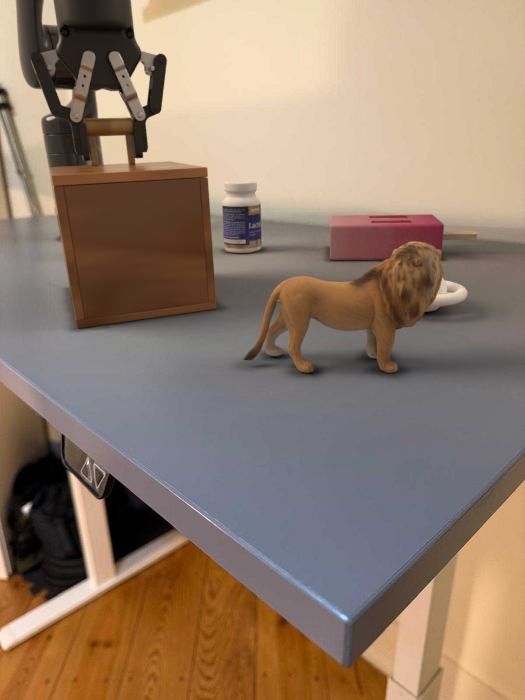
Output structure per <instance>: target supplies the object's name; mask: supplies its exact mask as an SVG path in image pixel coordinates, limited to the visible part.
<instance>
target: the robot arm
mask: <svg viewBox="0 0 525 700" xmlns="http://www.w3.org/2000/svg"><path fill="white" fill-rule="evenodd" d="M44 5H45V0H15V10H16V11H15V12H16V13H15V14H16V31H17V33H16V35H17V46H18V47H17V49H18V56H19V63H20V68H21V69H20V70H21V72H22V76H23V78H24V81H25V82H26V84H27V85H28V87H30V88H32V89H34V90H35V89H36V90H41V91H42V94H43V96H44V99H45V101H46V104H47V107H48V109H49V113H48V114H46V115H44V116H42V117H41V119H40V126H41V131H42V138H43V143H44V148H45V155H46V160H47V166H48V168H49V167H64V166H84V165H92V164H91V157H90V150H89V143H88V137H87V131H86V124H84V119H85V118H99V108H98V100H97V92H98V91H101V90H104V91H109V92H118V93H119V94H118V95H119V96H120V98H121V100H122V102H123V103H124V105H125V107H126V109H127V112H128V114H129V115H130V118H132V121H133V128H134V134H133V135H132V137H133V146H134V155H135V159H144V153H148V150H149V142H148V134H147V133H148V132H147V120H148V119H149V118H151V117H153V116H156V115H158V114H160V113H161V112H162V108H163V99H164V90H165V80H166V72H167V64H168V59H167V56H166V55H165V54H164V53H158V54H153V53H150V52H146V51H143V50H142V49H141V47H140V45H139V44H138V42H137V39H136V35H135V27H134V18H133V9H132V0H53V8H54V13H55V14H54V15H55V21H56V24H46V23H45V24H43V14H44V13H43V12H44ZM139 64H142V66H143V68H144V69H143V71H144V74H145V75H146V76H148V77H149V82H148V91H147V98H146V99H147V101H146V105H142V102H141V101H140V98H139V96H138V92H137V89H136V88H135V85H134V83H133V81H132V79H131V78H132V76H133V74H134V73H135V71H136V69H137V67H138V65H139ZM57 91H71V99H70V101H69V102H68V103H67V104H65V105H62V103H61V100H60V98H59V95H58V92H57ZM95 142H96V149H97V156H98V164H99V165H105V161H104V154H103V148H102V140H101V136H95ZM48 173H49V174H50V172H49V171H48ZM49 179H51V176H50V175H49ZM50 184H51V185H52V183H51V182H50ZM51 189H52V188H51ZM52 191H53V189H52ZM52 195H53V194H52ZM53 197H54V195H53ZM53 201H54V200H53ZM54 203H55V201H54ZM53 210H54V214H56V215H57V213H56V207H55V206H54V207H53ZM56 219H57V221H58V218H57V217H56ZM57 225H58V227H59V224H58V223H57ZM58 235H59V238H60V239H61V236H60V230H59V229H58Z"/></svg>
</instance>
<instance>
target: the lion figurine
mask: <svg viewBox="0 0 525 700" xmlns="http://www.w3.org/2000/svg"><path fill="white" fill-rule="evenodd" d="M442 252H443V251H442ZM442 252H441V250H438V249H436V248H435V247H434V246H432V245H429V244H426V243H423V242H416V241H411V242H408V243H407V244H404V245H402V246H400V247H399V248H398V249H395V250H394V251H393V253H392V255H391V258H389V259H387V260H383V261H382V262H381V263H378V264H375V265H373V266H372V267H370V268H369V270H368V271H366V272H364V273H363V274H362V275H361V276H360V277H357V278H355V279H353V280H351V281H329V280H324V279H320V278H316V277H313V276H308V275H306V276H305V275H299V276H293V277H290V278H287V279H285V280H283V281H282V282H280V283H279V284H278V285H277V286H276V287H275V288H274V289H273V290H272V292H271V294H270V296H269V298H268V300H267V302H266V305H265V310H264V312H263V317H262V323H261V327H260V331H259V336H258V339H257V340H256V341H257V342H256V343H255V345H254V346H253V347H252V348H251V349H250V350H249V351H248V352H247V353H246V355H244V356H243V358H242V360H243V361H252V360H254V359H256V357H258V355H259V354H260V352H261V351H262V349H263V347H264V351H265V354H267V355H268V356H271V357H279V356H282V354H283V348H282V347H280V346H277V345H276V340H277V339H278V338H279V337H280V335H282V334H284V333H285V332H288V337H289V338H288V339H289V340H288V343H287V347H286V349H287V352H288V354H289V356H290V358H291V359H292V361H293V363H294V365H295V367H296V369H297V370H298V371H300V372H301V373H306V374H308V373H312V372H314V370H315V364H314V362H312V361H311V360H307V359H305V358H304V356H303V354H302V344H303V341H304V340H305V337H306V335H307V332H308V329H309V327H310V321H311V319H314V320H316V322H318V323H320V324H322V325H323V326H325V327H327V328H329V329H333V330H335V331H340V332H357V331H364V330H365V331H366V344H365V352H366V355H367V356H368V357H369V358H371V359H374V360H376V361H377V363H378V367H379V369H380V370H381V371H382V372H385V373H388V374H393V373H395V372H397V371H398V368H399V367H398V364H397V363H396V362H394V361H391V354H392V352H393V348H394V344H395V339H396V330H401V329H404V328H411V327H414V326H415V325H416V324H417V323H418V322H420V321H421V320H422V318H423V316H424V314H425V313H426V312H425V310H426V309H428V308H429V306H430V305H431V304H432V303H433V302H434V300H435V299H436V296H437V293H438V291H439V289H440V285H441V281H442V277H443V278H444V269H443V266H442V263H441V261H442V256H443V255H442V254H443V253H442ZM277 304H280V308H279V312H278V314H277V316H276V319H275V320H274V321H273V322H272V323H271V321H272V319H273V315H274V313H275V309H276V306H277Z"/></svg>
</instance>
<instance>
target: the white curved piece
mask: <svg viewBox="0 0 525 700" xmlns="http://www.w3.org/2000/svg"><path fill="white" fill-rule="evenodd" d="M467 297H468V290H467V289H466V287H465V286H463V285H461V284H459V283H457V282H454V281H449V280H446V279H444V276H443V277H442V281H441V285H440V289H439V291H438V293H437V296H436V299H435V300H434V302H433V303H432V304H431V305H430V306H429V308H428V309H426V310H425V312H424V313H429V312H433V311H436V310H438V309H439V308H440V307H446V306H452V305H456V304H459V303H462V302H463V301H465V300H466V299H467Z"/></svg>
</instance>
